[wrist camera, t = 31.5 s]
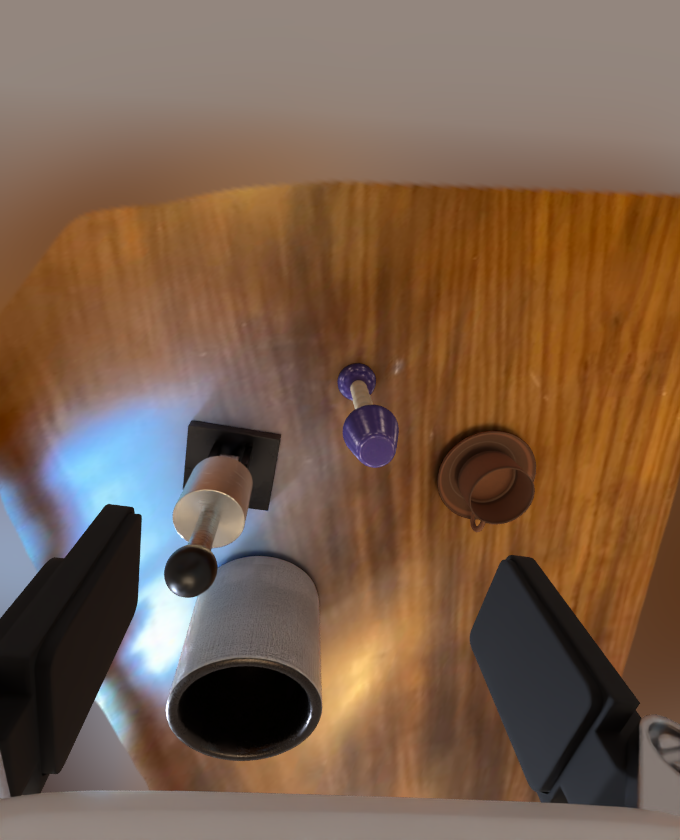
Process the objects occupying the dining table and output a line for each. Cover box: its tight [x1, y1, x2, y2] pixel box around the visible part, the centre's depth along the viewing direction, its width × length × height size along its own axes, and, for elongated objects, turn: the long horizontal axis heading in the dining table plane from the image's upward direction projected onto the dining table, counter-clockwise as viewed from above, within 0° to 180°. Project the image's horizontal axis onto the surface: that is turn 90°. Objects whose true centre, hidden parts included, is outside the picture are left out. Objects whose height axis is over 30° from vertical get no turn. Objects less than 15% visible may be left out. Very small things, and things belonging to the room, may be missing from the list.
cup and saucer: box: [438, 431, 536, 532], centre depth 50 cm, size 12×12×6 cm
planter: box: [166, 556, 322, 761], centre depth 50 cm, size 16×16×16 cm
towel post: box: [164, 454, 253, 598], centre depth 37 cm, size 6×6×19 cm
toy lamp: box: [338, 363, 399, 467], centre depth 39 cm, size 5×5×17 cm
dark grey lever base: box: [183, 421, 281, 511], centre depth 46 cm, size 10×10×7 cm
